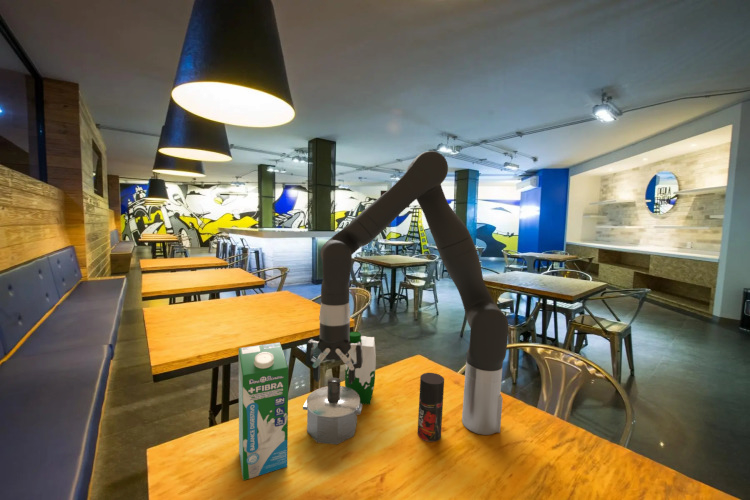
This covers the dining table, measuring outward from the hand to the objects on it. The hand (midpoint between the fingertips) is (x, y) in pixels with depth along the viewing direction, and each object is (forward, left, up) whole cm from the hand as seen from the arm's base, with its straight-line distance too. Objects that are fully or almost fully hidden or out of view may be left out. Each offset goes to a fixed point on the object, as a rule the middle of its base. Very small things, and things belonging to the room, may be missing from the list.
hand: (334, 381), depth 83 cm
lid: (0, 0, -6) cm, 6 cm away
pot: (0, 0, -13) cm, 13 cm away
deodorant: (-25, -1, -13) cm, 28 cm away
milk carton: (+13, +13, -13) cm, 22 cm away
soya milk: (-5, -15, -13) cm, 21 cm away
